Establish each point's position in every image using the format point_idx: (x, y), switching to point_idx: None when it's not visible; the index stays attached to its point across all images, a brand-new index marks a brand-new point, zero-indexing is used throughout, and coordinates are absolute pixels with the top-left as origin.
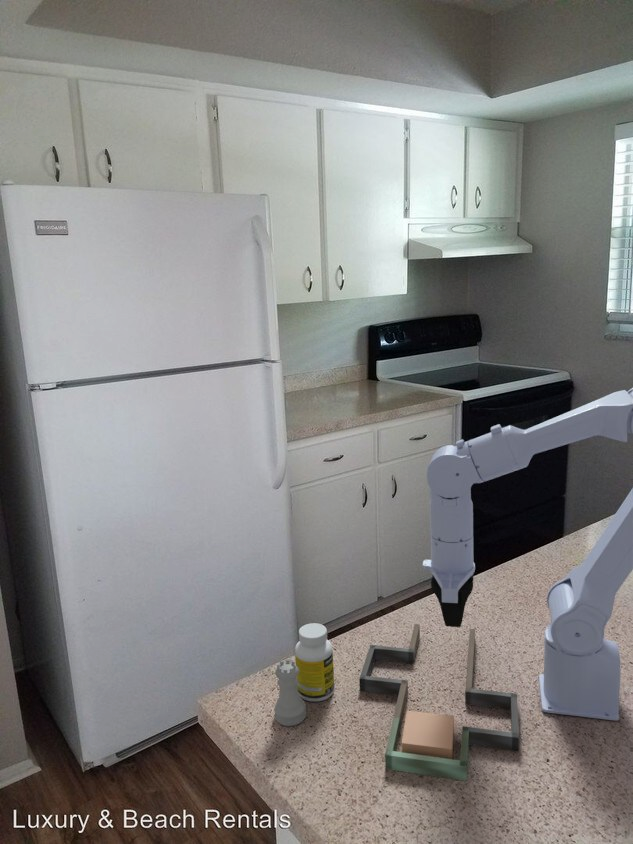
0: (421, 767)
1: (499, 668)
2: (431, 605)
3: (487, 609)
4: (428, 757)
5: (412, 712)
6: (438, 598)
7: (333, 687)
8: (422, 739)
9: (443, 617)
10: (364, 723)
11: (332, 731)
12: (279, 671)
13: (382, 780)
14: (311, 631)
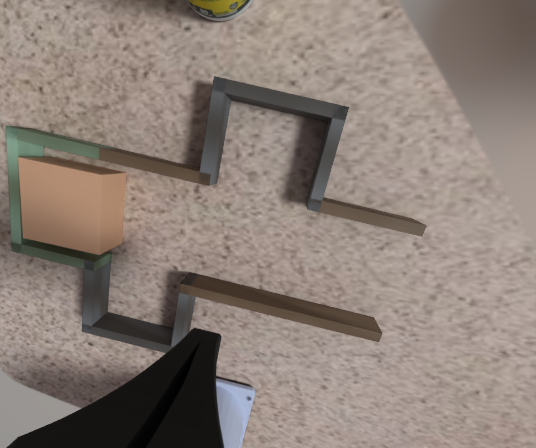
0: None
1: (282, 341)
2: (532, 270)
3: (479, 371)
4: (17, 198)
5: (98, 184)
6: (88, 406)
7: (208, 14)
8: (34, 194)
9: (177, 343)
10: (130, 94)
11: (102, 26)
12: None
13: (11, 122)
14: None
